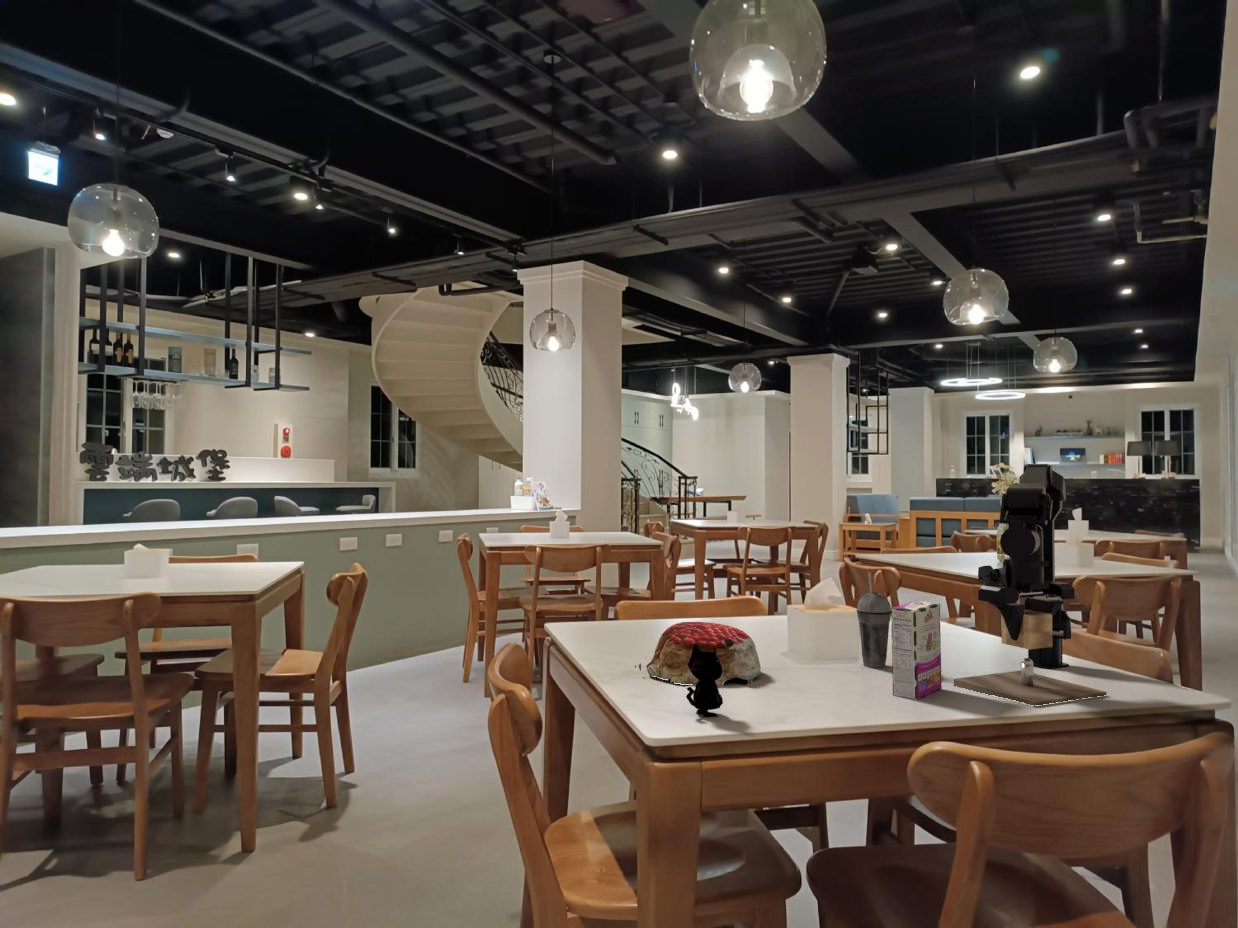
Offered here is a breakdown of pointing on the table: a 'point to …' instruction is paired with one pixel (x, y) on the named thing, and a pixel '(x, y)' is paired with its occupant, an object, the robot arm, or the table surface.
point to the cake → (728, 642)
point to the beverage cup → (874, 627)
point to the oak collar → (1031, 631)
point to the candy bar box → (916, 649)
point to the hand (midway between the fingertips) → (1026, 638)
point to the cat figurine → (705, 681)
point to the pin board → (1027, 686)
